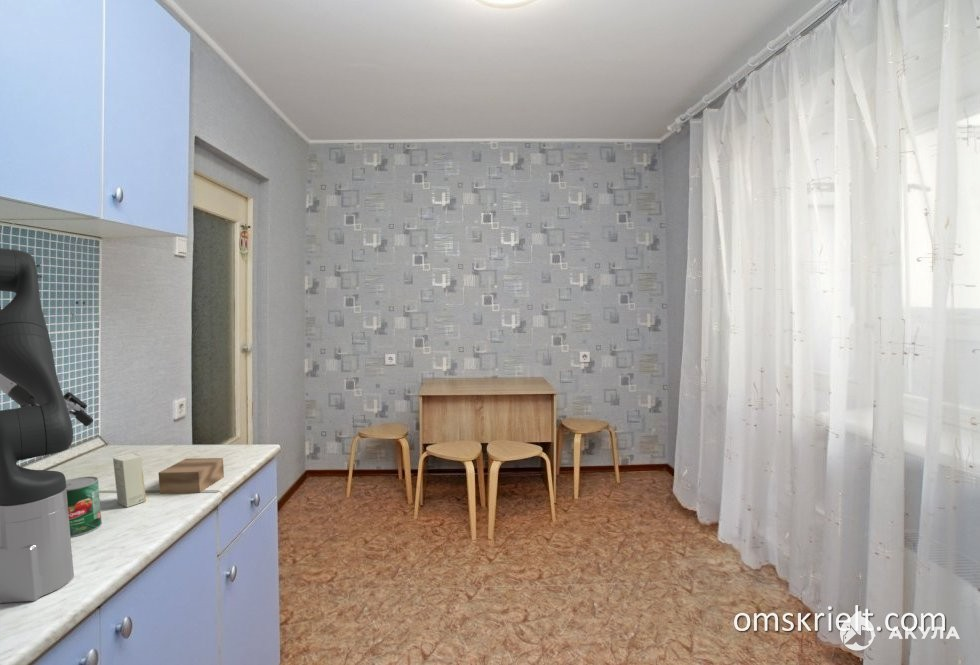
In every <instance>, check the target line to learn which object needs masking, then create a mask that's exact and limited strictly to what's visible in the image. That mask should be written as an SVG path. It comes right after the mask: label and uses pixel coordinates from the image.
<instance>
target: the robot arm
mask: <svg viewBox="0 0 980 665" xmlns="http://www.w3.org/2000/svg"><path fill="white" fill-rule="evenodd" d="M39 287H40V286H39V277H38V269H37V265H36V261H35V259H34V257H33V256H32V254H30V253H29V252H27V251H23V250H17V249H10V248H2V247H0V292H12V293H15V295H14V297H13V298H12V299H11V301H9V303H8V304H7V305H5V306H4V307H3V308H2V307H1V306H0V391H1V392H3V393H4V394H5V395H6V396H8V397H9V398H10V399H11V400H12V401H13V402H15V403H16V404H18V405H19V406H18V407H16V408H8V409H2V410H0V604H3V603H5V604H6V603H19V602H20V603H21V602H22V603H23V602H33V601H34V602H35V601H37V600H38V599H40V598H41V597H43V596H45V595H48V594H50V593H53V592H55V591H57V590H58V589H60V588H62V587H64V586H65V585H67V584H68V583H69V582H70V581H71V580H73V578H74V575H75V574H74V560H73V550H72V541H71V538H72V537H70V525H69V514H68V501H67V489H66V479H67V478H66V476H65V474H64V473H63V472H60V471H58V470H57V471H56V470H46V469H43V470H42V469H41V470H40V469H33V468H32V469H31V468H26V467H22V466H20V465H18V464H17V462H19V461H23V460H29V459H35V458H39V457H43V456H49V455H54V454H58V453H62V452H63V451H66V450H68V449H69V448H70V447H71V445H72V443H73V441H74V427H73V423H72V420H71V416H72V417H74V418H75V419H76V420H77V421H78V422H80V423H81V424H82V425H83V426H84V427H88V426H90V425H92V423H93V422H94V419H93V418H92V417H91V415H89V414H88V413H87V412H85V410H86V408H87V407H88V404H86V403H85V402H83V401H82V400H81V399H80V398H79V397H77V396H76V395H75V394H73V393H71V392H70V391H67V392H66V393H65V394H63V391H62V388H61V385H60V382H59V379H58V374H57V370H56V364H55V357H54V354H53V353H54V352H53V346H52V342H51V338H50V333H49V330H48V326H47V323H46V319H45V316H44V311H43V307H42V303H41V295H40V288H39ZM72 410H73V411H72Z"/></svg>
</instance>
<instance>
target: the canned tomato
mask: <svg viewBox="0 0 980 665" xmlns="http://www.w3.org/2000/svg"><path fill="white" fill-rule="evenodd" d="M99 486H100V485H99V477H97V476H81V477H76V478H75V477H74V478H72V479H67V480H66V489H67V501H68V514H69V525H70V537H71V538H77V537H79V536H83V535H86V534H89V533H92V532H94V531H96V530H97V529H99V528H101V527H102V524H103V522H102V514H101V511H102V510H101V500H100V488H99Z"/></svg>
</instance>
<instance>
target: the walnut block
mask: <svg viewBox="0 0 980 665" xmlns="http://www.w3.org/2000/svg"><path fill="white" fill-rule="evenodd" d="M224 470H225V469H224V458H223V457H221V458H220V457H215V458H213V457H210V458H208V457H207V458H205V457H202V458H185V459H182V460H180V461H179V462H177V463H174V464H173V465H170V466H168V467H167V468H165V469H162V470H161V471H159V472H158V482H159V483H158V484H159V493H160V494H201V493H202V492H204V491H205V490H207V489H208V488H210V487H212V486H213V485H214V484H216V483H217V482H219V481H220V480H222V479H223V478H225V472H224ZM209 486H210V487H209ZM206 488H207V489H206Z"/></svg>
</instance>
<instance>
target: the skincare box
mask: <svg viewBox="0 0 980 665" xmlns="http://www.w3.org/2000/svg"><path fill="white" fill-rule="evenodd" d="M112 460H113V471H114V479H115V489H116V491H115V492H116V498H117V503H118V504H120V505H122V506H123V507H126V508H129V507H132V506H136V505H138V504H141V503H144V502H147V498H146V489H145V488H146V487H145V486H146V485H145V479H144V477H145V476H144V469H143V457H142V455H140V454H137V453H134V452H131V453H126V454H122V455H118V456H115V457H112Z"/></svg>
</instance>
